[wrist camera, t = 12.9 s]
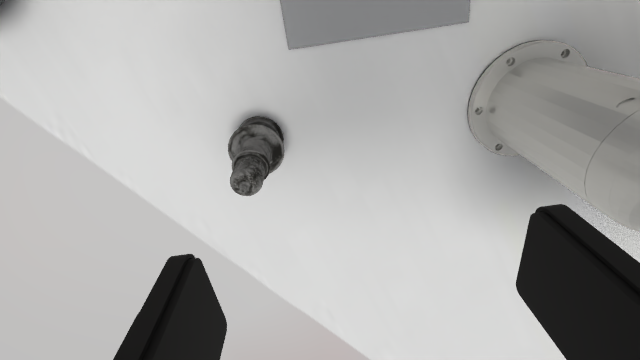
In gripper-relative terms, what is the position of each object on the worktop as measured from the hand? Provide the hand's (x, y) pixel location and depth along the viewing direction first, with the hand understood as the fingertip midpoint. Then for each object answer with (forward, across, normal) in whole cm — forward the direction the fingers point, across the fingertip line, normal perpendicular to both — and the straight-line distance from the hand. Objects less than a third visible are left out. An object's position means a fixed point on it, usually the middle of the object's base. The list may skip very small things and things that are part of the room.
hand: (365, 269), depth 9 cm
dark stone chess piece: (+28, +8, +6) cm, 30 cm away
